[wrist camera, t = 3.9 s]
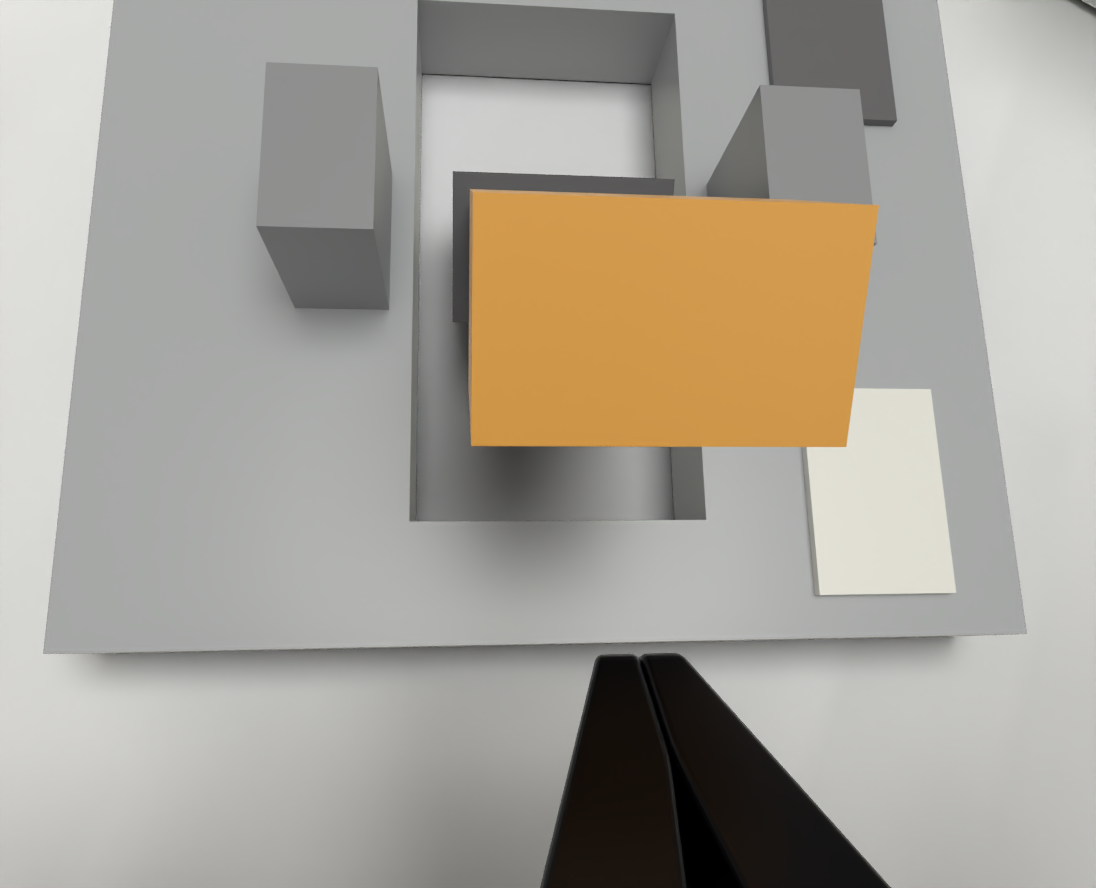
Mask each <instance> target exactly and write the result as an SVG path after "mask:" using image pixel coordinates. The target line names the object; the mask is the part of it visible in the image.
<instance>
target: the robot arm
mask: <svg viewBox="0 0 1096 888" xmlns="http://www.w3.org/2000/svg"><path fill="white" fill-rule="evenodd" d="M540 888H891V887H890V886H889V885H888V884H887V883H886V882H885V881H884V879H883V878H882V877H881V876H880V875H879V874H878V873H877V872H876V870H875V869H874V868H873V867H872V866H871V865H870V864H869V863H868V862H867V860H866V859H865V858H864V857H863V856H862V855H861V854H860V853H859V851H858V850H857V849H856V848H855V847H854V846H853V845H852V844H851V843H850V841H849V840H848V839H847V838H846V837H845V836H844V835H843V834H842V833H841V831H840V830H839V829H838V828H837V827H836V826H835V825H834V824H833V822H832V821H831V820H830V819H829V818H828V817H827V816H826V815H825V814H824V812H823V811H822V810H821V809H820V808H819V807H818V806H817V805H816V803H815V802H814V801H813V800H812V799H811V798H810V797H809V796H808V795H807V793H806V792H805V791H804V790H803V789H802V788H801V787H800V786H799V785H798V783H797V782H796V781H795V780H794V779H793V778H792V777H791V776H790V774H789V773H788V772H787V771H786V770H785V769H784V768H783V767H782V766H781V764H780V763H779V762H778V761H777V760H776V759H775V758H774V757H773V755H772V754H771V753H770V752H769V751H768V750H767V749H766V748H765V747H764V745H763V744H762V743H761V742H760V741H759V740H758V739H757V738H756V737H755V735H754V734H753V733H752V732H751V731H750V730H749V729H748V728H747V726H746V725H745V724H744V723H743V722H742V721H741V720H740V719H739V718H738V716H737V715H736V714H735V713H734V712H733V711H732V710H731V709H730V707H729V706H728V705H727V704H726V703H725V702H724V701H723V700H722V699H721V697H720V696H719V695H718V694H717V693H716V692H715V691H714V690H713V689H712V687H711V686H710V685H709V684H708V683H707V682H706V681H705V680H704V678H703V677H702V676H701V675H700V674H699V673H698V672H697V671H696V670H695V668H694V667H693V666H692V665H691V664H690V663H689V662H688V661H687V660H686V659H685V658H684V657H683V656H682V655H680V654H677V653H655V654H644V655H642V656H640V657H639V659H638V657H637V656H635V655H634V654H607V655H600V656H598V657H597V658H596V660H595V664H594V667H593V672H592V676H591V680H590V684H589V688H588V692H587V696H586V700H585V705H584V709H583V713H582V717H581V721H580V725H579V729H578V733H577V738H576V742H575V746H574V750H573V754H572V758H571V762H570V766H569V770H568V775H567V779H566V783H565V787H564V791H563V795H562V799H561V803H560V808H559V812H558V816H557V820H556V824H555V828H554V832H553V836H552V841H551V845H550V849H549V853H548V857H547V861H546V865H545V869H544V873H543V878H542V882H541V886H540Z"/></svg>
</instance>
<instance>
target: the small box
mask: <svg viewBox="0 0 1096 888" xmlns="http://www.w3.org/2000/svg"><path fill="white" fill-rule="evenodd" d="M1082 1H1083V2H1085V3H1087V4H1089V5H1091V6H1092V7H1094V8H1096V0H1082Z"/></svg>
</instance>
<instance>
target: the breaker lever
mask: <svg viewBox="0 0 1096 888" xmlns="http://www.w3.org/2000/svg"><path fill="white" fill-rule="evenodd" d="M674 183H675V179H658V178H629V177H600V176H571V175H542V174H513V173H484V172H455V171H453V322H469V412H470V434H471V446H627V447H846V446H847V438H848V431H849V424H850V416H851V409H852V401H853V394H854V387H855V379H856V372H857V364H858V357H859V350H860V342H861V335H862V327H863V320H864V313H865V305H866V298H867V290H868V283H869V276H870V268H871V261H872V253H873V246H874V239H875V231H876V224H877V216H878V209H879V205H868V204H853V203H837V202H821V201H805V200H789V199H760V198H729V197H698V196H674Z"/></svg>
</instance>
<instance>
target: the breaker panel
mask: <svg viewBox="0 0 1096 888" xmlns="http://www.w3.org/2000/svg"><path fill="white" fill-rule="evenodd" d="M422 73H424V74H446V75H468V76H490V77H512V78H534V79H556V80H578V81H600V82H622V83H644V84H651V93H652V112H653V131H654V149H655V168H656V178H658V179H675V183H674V196H698V197H729V198H760V199H789V200H805V201H821V202H837V203H853V204H868V205H879V209H878V216H877V224H876V231H875V239H874V246H873V253H872V261H871V268H870V276H869V283H868V290H867V298H866V305H865V313H864V320H863V327H862V335H861V342H860V350H859V357H858V364H857V372H856V379H855V387H854V394H853V401H852V409H851V416H850V424H849V431H848V438H847V446H846V447H671V466H672V485H673V503H674V520H586V521H416V464H417V393H418V322H419V252H420V181H421V110H422ZM1008 634H1027V630H1026V623H1025V616H1024V609H1023V602H1022V595H1021V588H1020V581H1019V574H1018V567H1017V560H1016V553H1015V546H1014V539H1013V532H1012V525H1011V518H1010V511H1009V503H1008V496H1007V489H1006V482H1005V475H1004V468H1003V461H1002V454H1001V447H1000V440H999V433H998V426H997V419H996V412H995V405H994V398H993V391H992V384H991V377H990V370H989V362H988V355H987V348H986V341H985V334H984V327H983V320H982V313H981V306H980V299H979V292H978V285H977V278H976V271H975V264H974V257H973V250H972V243H971V236H970V229H969V221H968V214H967V207H966V200H965V193H964V186H963V179H962V172H961V165H960V158H959V151H958V144H957V137H956V130H955V123H954V116H953V109H952V102H951V95H950V87H949V80H948V73H947V66H946V59H945V52H944V45H943V38H942V31H941V24H940V17H939V10H938V3H937V0H114V3H113V12H112V22H111V31H110V40H109V49H108V59H107V68H106V77H105V86H104V96H103V105H102V114H101V123H100V133H99V142H98V151H97V161H96V170H95V179H94V188H93V198H92V207H91V216H90V225H89V235H88V244H87V253H86V262H85V272H84V281H83V290H82V300H81V309H80V318H79V327H78V337H77V346H76V355H75V364H74V374H73V383H72V392H71V401H70V411H69V420H68V429H67V439H66V448H65V457H64V466H63V476H62V485H61V494H60V503H59V513H58V522H57V531H56V540H55V550H54V559H53V568H52V577H51V587H50V596H49V605H48V615H47V624H46V633H45V642H44V652H43V654H101V653H151V652H200V651H249V650H299V649H348V648H397V647H446V646H496V645H545V644H594V643H644V642H693V641H742V640H792V639H841V638H890V637H940V636H977V635H1008Z"/></svg>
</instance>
